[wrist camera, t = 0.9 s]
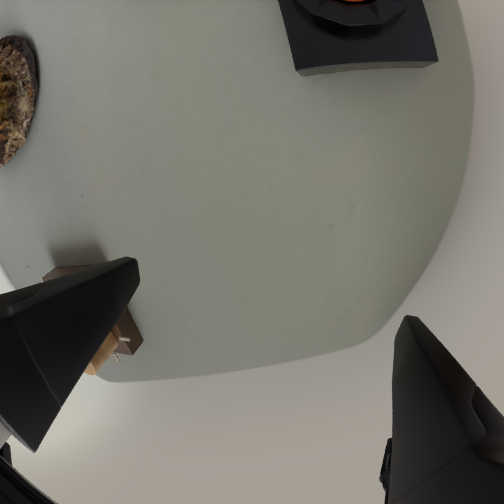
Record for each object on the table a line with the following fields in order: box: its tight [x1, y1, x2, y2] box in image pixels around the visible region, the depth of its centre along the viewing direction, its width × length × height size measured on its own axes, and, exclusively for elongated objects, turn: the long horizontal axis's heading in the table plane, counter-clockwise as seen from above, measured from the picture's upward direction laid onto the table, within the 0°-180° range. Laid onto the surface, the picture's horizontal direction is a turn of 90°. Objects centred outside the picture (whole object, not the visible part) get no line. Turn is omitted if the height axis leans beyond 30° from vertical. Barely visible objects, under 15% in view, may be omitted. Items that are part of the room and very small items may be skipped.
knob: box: [84, 332, 117, 375], centre depth 28 cm, size 4×4×5 cm
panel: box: [42, 265, 143, 363], centre depth 31 cm, size 12×11×3 cm
